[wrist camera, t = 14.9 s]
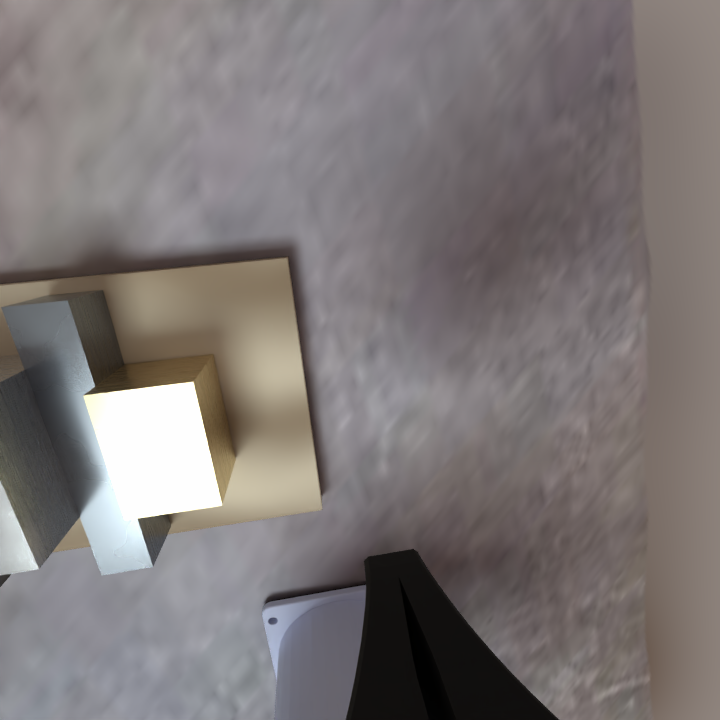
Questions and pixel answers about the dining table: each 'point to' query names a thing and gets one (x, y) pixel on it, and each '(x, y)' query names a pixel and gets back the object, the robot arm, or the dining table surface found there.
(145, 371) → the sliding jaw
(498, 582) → the dining table surface
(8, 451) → the steel block
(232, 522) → the vise
